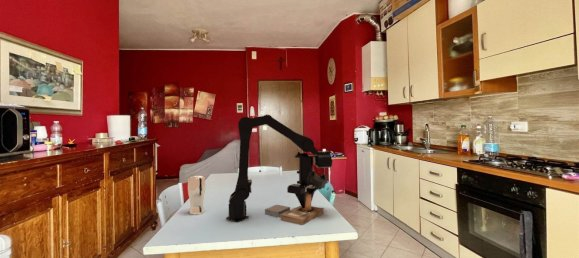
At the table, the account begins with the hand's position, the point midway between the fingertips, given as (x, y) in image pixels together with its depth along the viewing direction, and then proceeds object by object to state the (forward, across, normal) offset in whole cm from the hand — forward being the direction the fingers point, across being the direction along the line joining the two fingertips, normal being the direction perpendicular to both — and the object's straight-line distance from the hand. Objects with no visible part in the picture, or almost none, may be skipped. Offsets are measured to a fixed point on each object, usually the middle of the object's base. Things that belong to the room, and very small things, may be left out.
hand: (306, 206), depth 113 cm
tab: (+3, -5, +11) cm, 12 cm away
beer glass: (+3, -23, +40) cm, 46 cm away
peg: (+1, 0, 0) cm, 1 cm away
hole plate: (+3, -3, 0) cm, 4 cm away
